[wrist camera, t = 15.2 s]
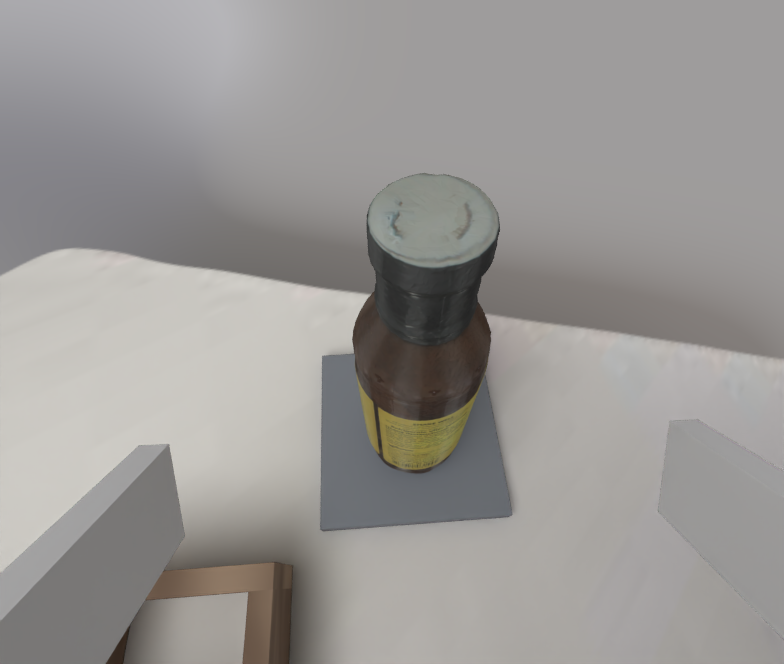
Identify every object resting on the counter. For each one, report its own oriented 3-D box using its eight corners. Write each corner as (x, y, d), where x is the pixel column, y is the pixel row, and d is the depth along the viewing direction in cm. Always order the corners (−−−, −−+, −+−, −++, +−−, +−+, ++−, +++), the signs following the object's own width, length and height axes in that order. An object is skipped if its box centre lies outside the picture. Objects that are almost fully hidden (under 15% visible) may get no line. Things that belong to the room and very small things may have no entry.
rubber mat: (477, 352, 34) (479, 346, 33) (508, 517, 28) (512, 514, 27) (323, 361, 34) (322, 355, 33) (322, 531, 28) (320, 529, 27)
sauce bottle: (475, 429, 30) (596, 222, 13) (413, 497, 28) (457, 357, 10) (408, 370, 32) (433, 123, 15) (345, 428, 30) (289, 217, 13)
